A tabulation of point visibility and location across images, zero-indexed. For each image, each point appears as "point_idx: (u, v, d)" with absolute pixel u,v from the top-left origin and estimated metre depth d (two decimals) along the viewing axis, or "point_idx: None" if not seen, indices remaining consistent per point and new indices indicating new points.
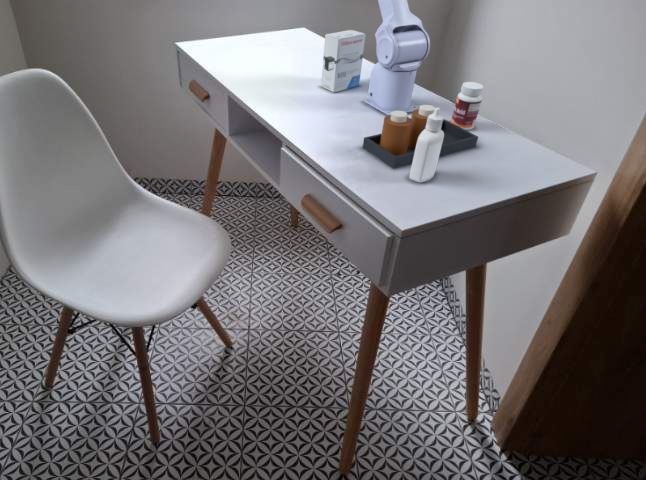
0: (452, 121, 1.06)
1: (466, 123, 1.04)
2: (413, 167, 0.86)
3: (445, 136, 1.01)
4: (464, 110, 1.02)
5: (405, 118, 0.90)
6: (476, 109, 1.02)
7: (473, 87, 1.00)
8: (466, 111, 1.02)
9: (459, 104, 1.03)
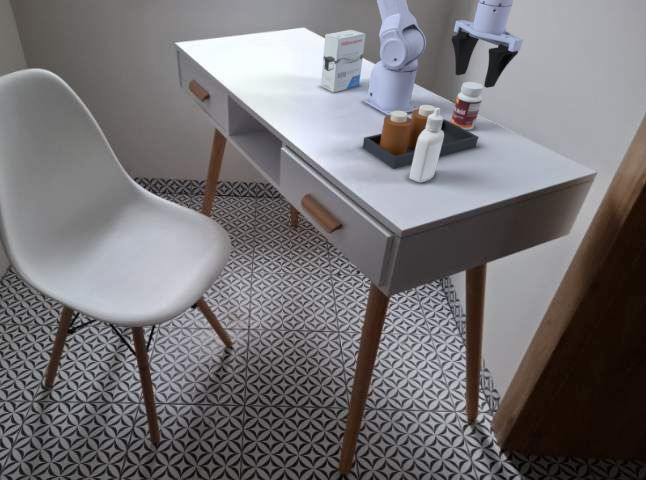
0: (452, 121, 1.06)
1: (466, 123, 1.04)
2: (413, 167, 0.86)
3: (445, 136, 1.01)
4: (464, 110, 1.02)
5: (405, 118, 0.90)
6: (476, 109, 1.02)
7: (473, 87, 1.00)
8: (466, 111, 1.02)
9: (459, 104, 1.03)
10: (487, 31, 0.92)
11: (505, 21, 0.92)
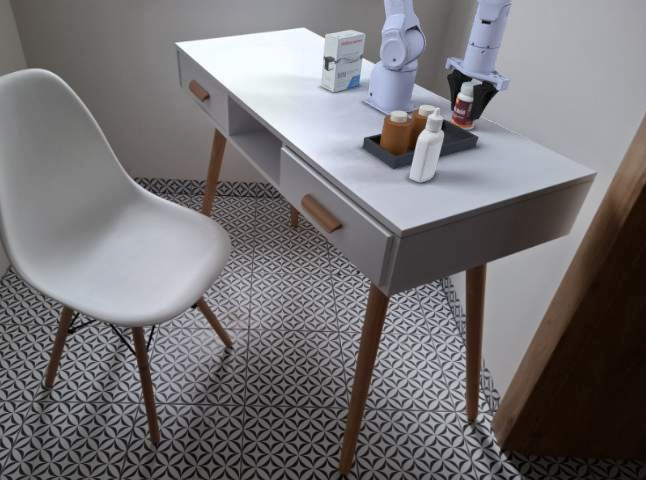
0: (452, 121, 1.06)
1: (466, 123, 1.04)
2: (413, 167, 0.86)
3: (445, 136, 1.01)
4: (464, 110, 1.02)
5: (405, 118, 0.90)
6: None
7: None
8: (466, 111, 1.02)
9: (459, 104, 1.03)
10: (476, 71, 0.97)
11: (493, 61, 0.96)
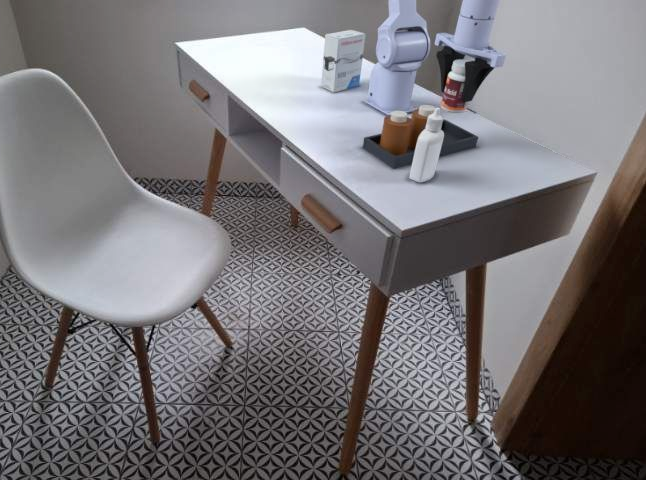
0: (442, 103, 0.96)
1: (458, 105, 0.94)
2: (413, 167, 0.86)
3: (445, 136, 1.01)
4: (455, 91, 0.93)
5: (405, 118, 0.90)
6: None
7: None
8: (458, 92, 0.93)
9: (450, 84, 0.93)
10: (468, 45, 0.87)
11: (487, 35, 0.86)
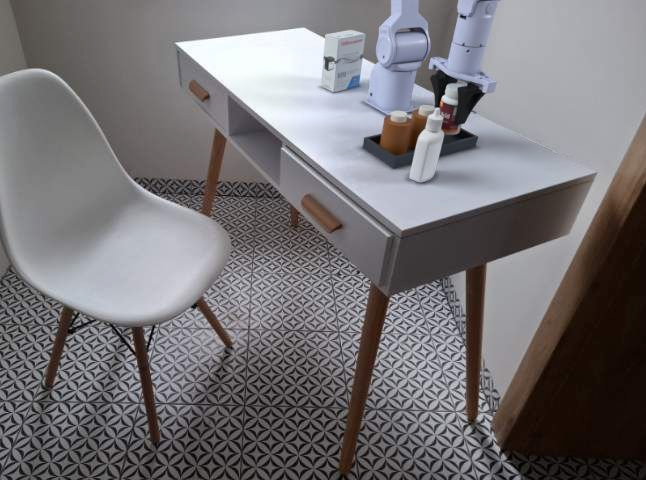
0: None
1: (451, 127, 0.96)
2: (413, 167, 0.86)
3: (445, 136, 1.01)
4: (448, 114, 0.95)
5: (405, 118, 0.90)
6: None
7: None
8: (451, 115, 0.95)
9: (443, 108, 0.95)
10: (461, 71, 0.89)
11: (479, 61, 0.89)
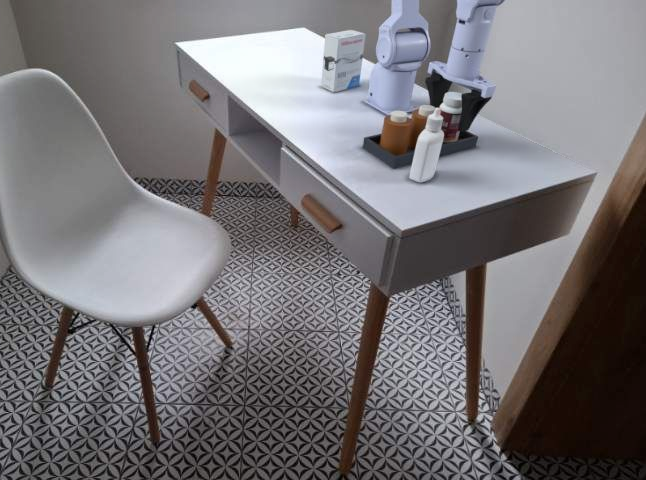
0: None
1: (449, 135, 0.97)
2: (413, 167, 0.86)
3: None
4: (446, 122, 0.96)
5: (405, 118, 0.90)
6: None
7: (456, 98, 0.94)
8: (449, 123, 0.96)
9: None
10: (460, 76, 0.90)
11: (478, 66, 0.89)
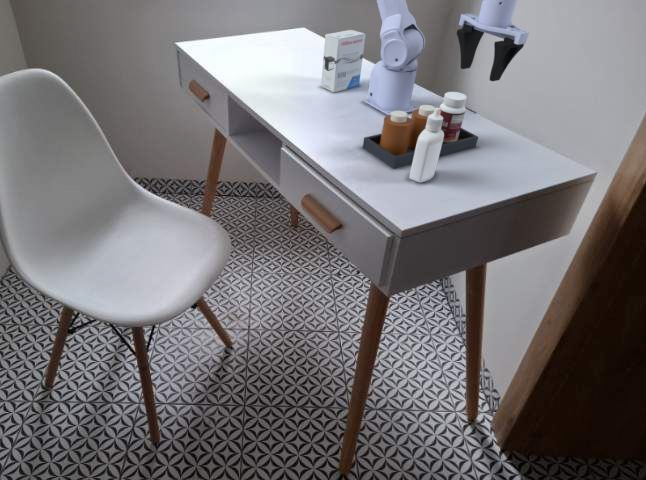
0: None
1: (449, 135, 0.97)
2: (413, 167, 0.86)
3: None
4: (446, 122, 0.96)
5: (405, 118, 0.90)
6: (460, 121, 0.96)
7: (456, 98, 0.94)
8: (449, 123, 0.96)
9: None
10: (493, 24, 0.92)
11: (511, 14, 0.92)
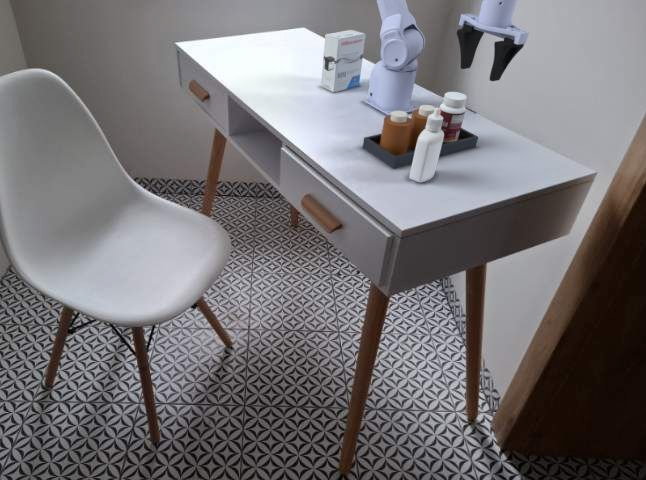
0: None
1: (449, 135, 0.97)
2: (413, 167, 0.86)
3: None
4: (446, 122, 0.96)
5: (405, 118, 0.90)
6: (460, 121, 0.96)
7: (456, 98, 0.94)
8: (449, 123, 0.96)
9: None
10: (493, 24, 0.92)
11: (511, 14, 0.92)
